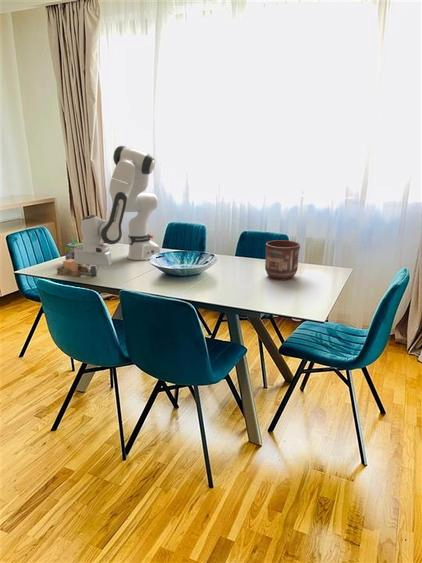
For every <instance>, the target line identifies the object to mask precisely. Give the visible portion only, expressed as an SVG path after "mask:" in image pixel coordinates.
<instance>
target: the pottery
mask: <svg viewBox="0 0 422 563" xmlns="http://www.w3.org/2000/svg"><path fill="white" fill-rule="evenodd" d="M300 248H301V244H300V243H299V242H296V241H294V240H293V241H292V240H286V239H282V240H281V239H280V240H279V239H276V240H270V241H267V242H266V243H265V264H264V270H265V273H266V274H267V276H268V277H269V276H270V277H271V279H272V278H274V279H273V280H276V279H288V280H290V279H292V278H294V276H295V275H296V274H297V271H298V267H299V254H300ZM270 277H269V278H270Z"/></svg>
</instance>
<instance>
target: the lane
mask: <svg viewBox="0 0 422 563" xmlns="http://www.w3.org/2000/svg"><path fill="white" fill-rule="evenodd" d="M90 268H91V266H90ZM56 270H57V274H58V275H62V276H63V275H64V276H69V275H70V277H75V276H77V277H76V278H82V274H81V271H82V272H83V273H87V272H88V269H87V267H86V265H78V271H77V270H70V269H64V265H62V266H59V267H57V268H56ZM88 273H89V272H88ZM89 274H90V273H89Z"/></svg>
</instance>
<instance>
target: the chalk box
mask: <svg viewBox="0 0 422 563" xmlns="http://www.w3.org/2000/svg"><path fill="white" fill-rule="evenodd" d="M70 241H71V242H70V243H68V244H65V245H63V249H64V256H65V260H68V259H74V248H75V247H76V246H83V245H82V242H78V241H77V238H76V237H73V238H71V239H70ZM74 241H75V242H74ZM77 265H80V266H83V264H77Z"/></svg>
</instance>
